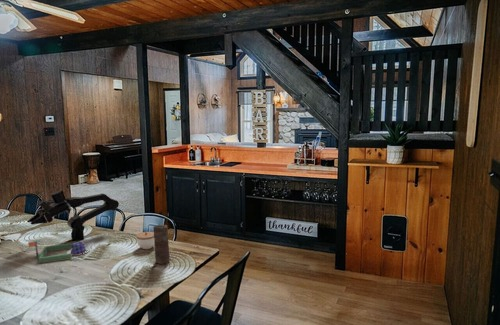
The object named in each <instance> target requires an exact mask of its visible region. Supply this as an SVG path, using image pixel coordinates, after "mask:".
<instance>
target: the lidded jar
mask: <svg viewBox="0 0 500 325" xmlns="http://www.w3.org/2000/svg"><path fill="white" fill-rule="evenodd" d="M136 241H137V244H138V246H139V247H140V248H141V249H142V250H149V249H151V248H153V246H155V243H154V231H143V232H139V233H138V234H136Z"/></svg>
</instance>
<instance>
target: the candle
mask: <svg viewBox="0 0 500 325" xmlns="http://www.w3.org/2000/svg"><path fill="white" fill-rule="evenodd" d="M152 228H153V232H154V257H155V262H156V263H157V264H160V265H165V264H168V263H169V262H170V259H171V258H170V257H171V256H170V247H169V243H170V242H169V230H168V225H167V224H163V225H162V224H157V225H153V227H152ZM164 263H165V264H164Z"/></svg>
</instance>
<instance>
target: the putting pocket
mask: <svg viewBox="0 0 500 325" xmlns="http://www.w3.org/2000/svg"><path fill="white" fill-rule="evenodd" d="M74 243H75V242H71V243H63V244H55V245H47V246H44V247H43V249H42V251H41V253H40V254H39V251H38V242H37V241H31V242H27V245H28V247H29V248H30V247H35V255H34V257H33V258H34V259H38V264H43V263H48V262H57V261H62V260H69V259H70V260H71V259H72V255H71V253H70V254H67V253H63V254H56V255H49V256H46V255H47V252H52V251H59V250H67V249H72V245H73V244H74Z"/></svg>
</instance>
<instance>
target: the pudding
mask: <svg viewBox="0 0 500 325" xmlns="http://www.w3.org/2000/svg"><path fill="white" fill-rule="evenodd" d="M73 243H74V244H73V245H72V248H70V249H69V250H67V251H66V254H70V253H71V256H79V255H83V254H86V253H88V252H90V250H91V248H90V247H88V246H85V243H84V242H82V241H77V242H73ZM86 249H88V251H87V250H86ZM86 251H87V252H86ZM84 252H85V253H84ZM82 253H83V254H82Z"/></svg>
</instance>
